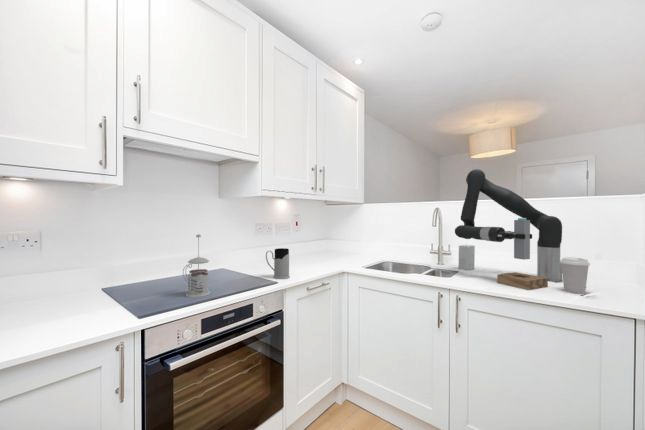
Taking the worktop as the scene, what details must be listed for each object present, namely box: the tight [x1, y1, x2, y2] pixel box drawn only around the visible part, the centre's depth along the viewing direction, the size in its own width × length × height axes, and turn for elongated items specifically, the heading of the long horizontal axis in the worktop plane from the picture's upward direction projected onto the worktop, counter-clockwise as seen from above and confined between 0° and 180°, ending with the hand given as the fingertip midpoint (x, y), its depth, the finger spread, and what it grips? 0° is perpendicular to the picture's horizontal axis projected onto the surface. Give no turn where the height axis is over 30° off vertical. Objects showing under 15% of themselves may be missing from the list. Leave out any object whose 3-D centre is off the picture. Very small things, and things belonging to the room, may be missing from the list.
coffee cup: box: [560, 256, 591, 297], centre depth 118 cm, size 10×10×15 cm
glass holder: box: [265, 247, 291, 280], centre depth 148 cm, size 9×14×15 cm, turn 68°
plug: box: [513, 217, 531, 260], centre depth 129 cm, size 4×4×19 cm
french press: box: [182, 234, 212, 298], centre depth 116 cm, size 10×12×25 cm
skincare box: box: [458, 244, 476, 271], centre depth 171 cm, size 8×6×15 cm
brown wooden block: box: [496, 271, 549, 291], centre depth 129 cm, size 14×14×5 cm
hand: (528, 236), depth 126 cm, fingers closed on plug, 4 cm apart
